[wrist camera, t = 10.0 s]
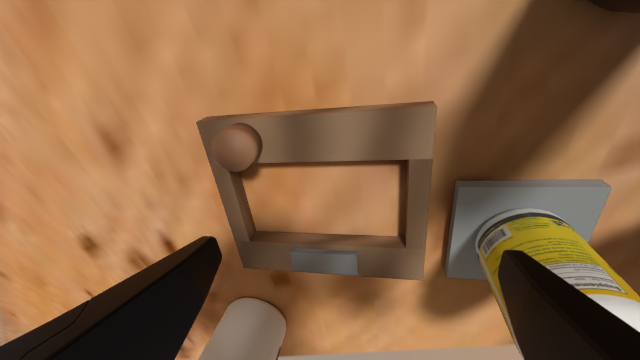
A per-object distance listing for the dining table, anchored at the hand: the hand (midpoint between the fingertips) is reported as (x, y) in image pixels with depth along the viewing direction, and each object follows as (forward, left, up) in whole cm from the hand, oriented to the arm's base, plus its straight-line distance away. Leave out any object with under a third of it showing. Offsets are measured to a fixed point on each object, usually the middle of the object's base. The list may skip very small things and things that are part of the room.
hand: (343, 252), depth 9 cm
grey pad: (-11, +9, -13) cm, 19 cm away
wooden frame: (+4, +6, -13) cm, 15 cm away
